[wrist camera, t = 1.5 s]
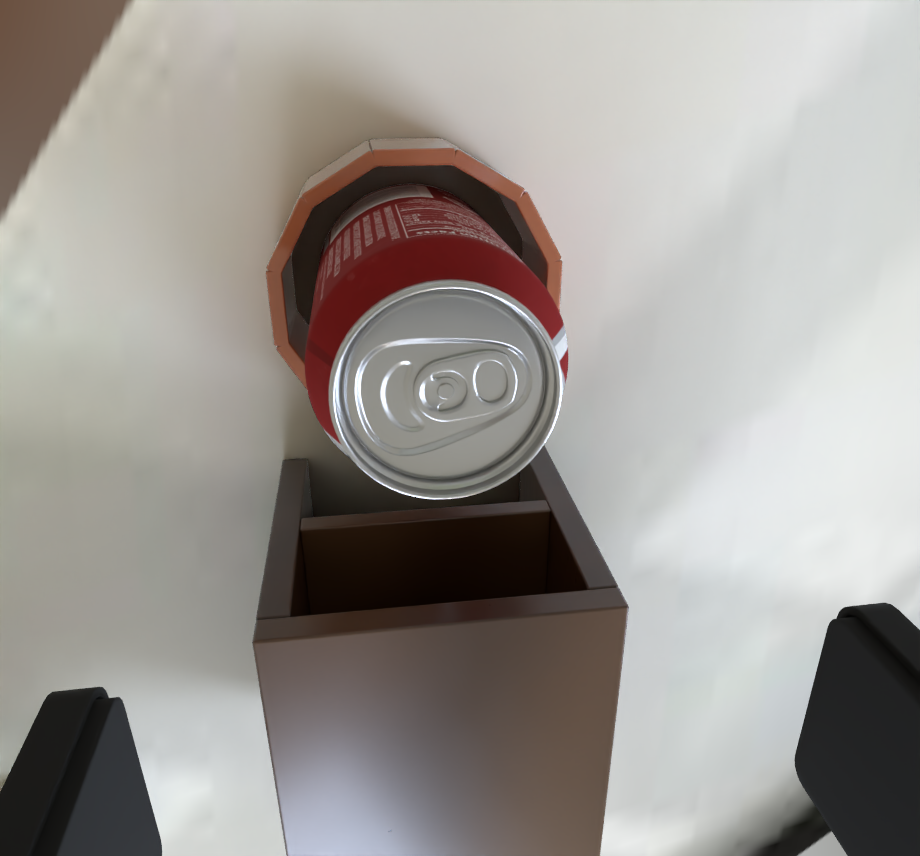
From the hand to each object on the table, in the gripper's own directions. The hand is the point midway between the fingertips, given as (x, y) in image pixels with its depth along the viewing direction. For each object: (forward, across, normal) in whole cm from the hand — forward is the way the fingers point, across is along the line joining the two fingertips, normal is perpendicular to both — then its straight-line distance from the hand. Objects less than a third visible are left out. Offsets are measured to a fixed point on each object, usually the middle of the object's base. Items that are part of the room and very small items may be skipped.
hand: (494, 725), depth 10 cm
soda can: (+21, -1, -1) cm, 21 cm away
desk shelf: (+21, 0, +13) cm, 25 cm away
